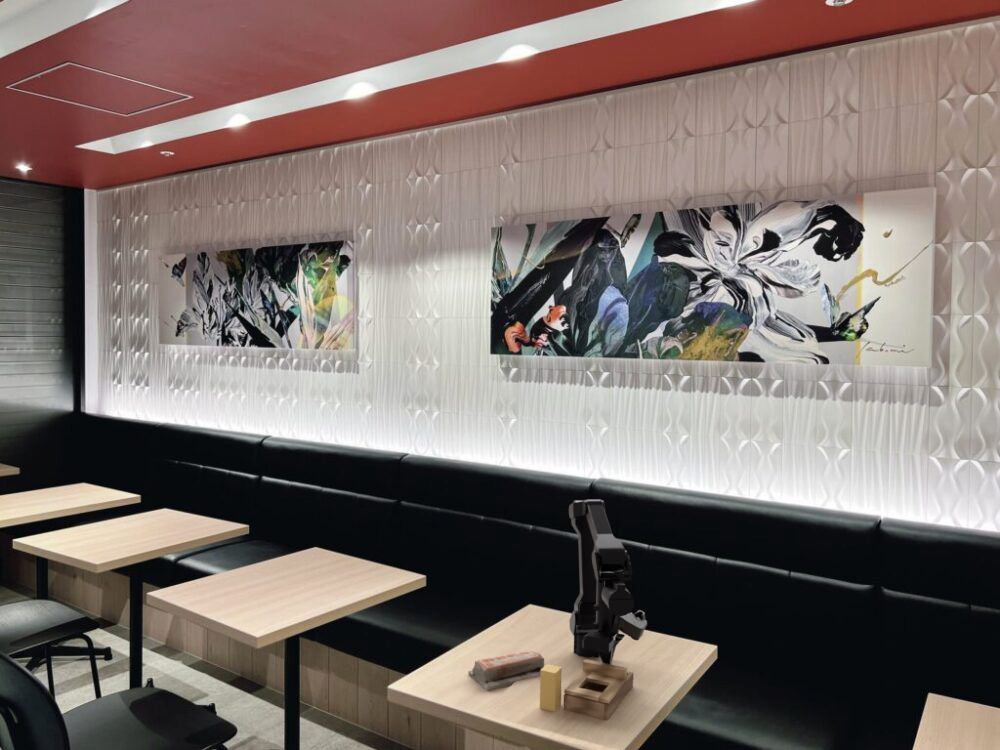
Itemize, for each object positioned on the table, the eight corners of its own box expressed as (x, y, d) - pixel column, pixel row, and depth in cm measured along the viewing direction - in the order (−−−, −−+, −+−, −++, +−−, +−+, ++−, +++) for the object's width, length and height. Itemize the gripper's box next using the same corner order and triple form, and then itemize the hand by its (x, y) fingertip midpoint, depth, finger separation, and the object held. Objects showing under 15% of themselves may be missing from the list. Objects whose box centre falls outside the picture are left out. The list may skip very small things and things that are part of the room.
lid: (564, 693, 170) (564, 680, 170) (585, 670, 182) (585, 658, 182) (608, 703, 166) (608, 690, 166) (627, 679, 178) (627, 667, 177)
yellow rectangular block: (539, 711, 171) (540, 670, 170) (546, 704, 174) (546, 664, 174) (554, 715, 169) (555, 673, 169) (560, 708, 173) (561, 667, 172)
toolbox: (563, 712, 170) (563, 694, 170) (591, 680, 186) (592, 664, 186) (607, 723, 166) (607, 705, 166) (632, 689, 182) (633, 672, 182)
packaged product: (487, 672, 180) (468, 656, 189) (486, 693, 180) (467, 676, 189) (554, 658, 188) (532, 643, 197) (553, 677, 189) (532, 662, 198)
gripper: (631, 619, 168) (629, 691, 169) (654, 594, 184) (653, 659, 185) (581, 610, 173) (580, 680, 173) (609, 586, 189) (607, 650, 190)
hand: (607, 667), depth 180 cm, fingers closed
